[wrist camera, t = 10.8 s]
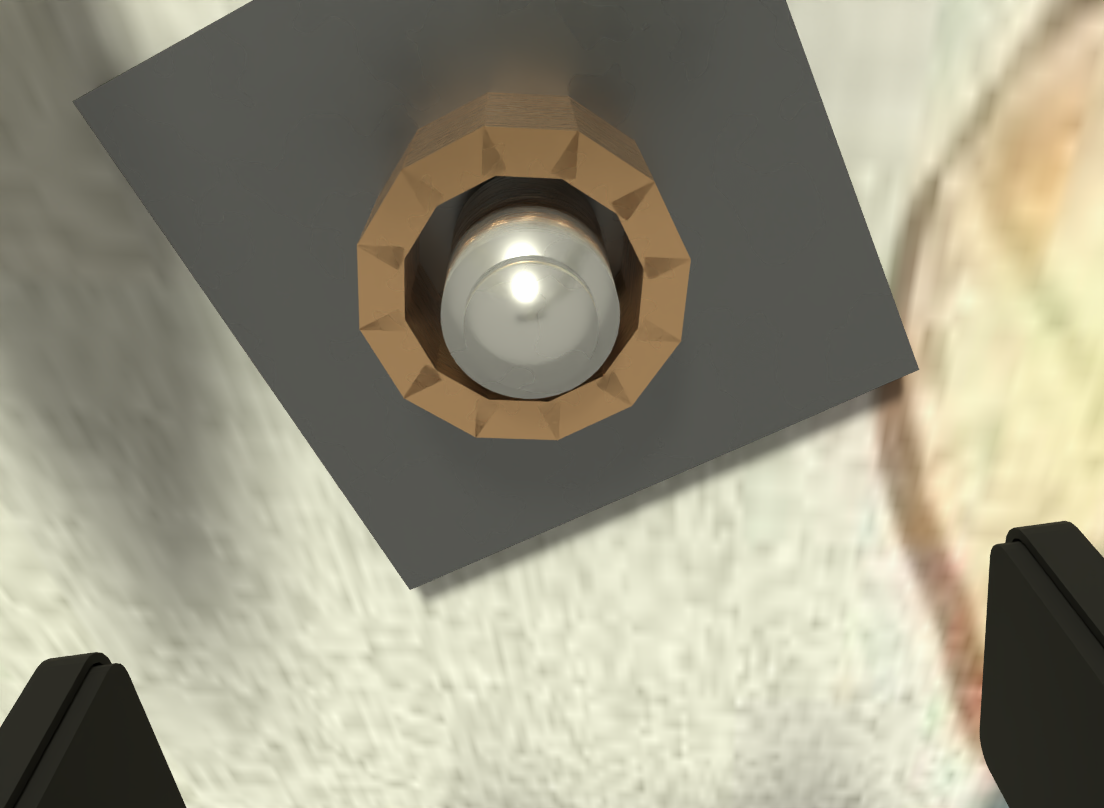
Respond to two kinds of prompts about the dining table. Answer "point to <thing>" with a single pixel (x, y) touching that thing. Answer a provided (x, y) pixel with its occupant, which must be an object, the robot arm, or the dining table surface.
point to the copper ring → (519, 151)
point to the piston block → (510, 240)
